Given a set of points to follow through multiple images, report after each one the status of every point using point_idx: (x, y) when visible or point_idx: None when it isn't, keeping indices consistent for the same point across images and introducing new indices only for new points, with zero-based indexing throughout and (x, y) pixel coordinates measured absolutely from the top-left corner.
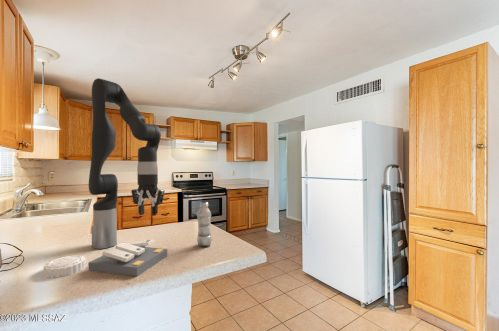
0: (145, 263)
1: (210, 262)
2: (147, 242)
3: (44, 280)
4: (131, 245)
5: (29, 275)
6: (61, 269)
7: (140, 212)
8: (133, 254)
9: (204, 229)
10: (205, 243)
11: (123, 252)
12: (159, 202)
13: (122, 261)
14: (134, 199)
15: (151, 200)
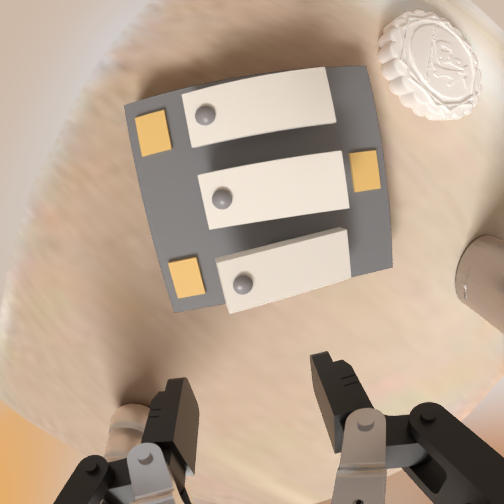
0: (135, 156)
1: (21, 306)
2: (221, 262)
3: (401, 3)
4: (287, 207)
5: (462, 26)
6: (397, 18)
7: (318, 365)
8: (194, 143)
9: (109, 450)
10: (117, 410)
11: (245, 123)
12: (76, 479)
13: None
14: (454, 442)
15: (147, 497)
